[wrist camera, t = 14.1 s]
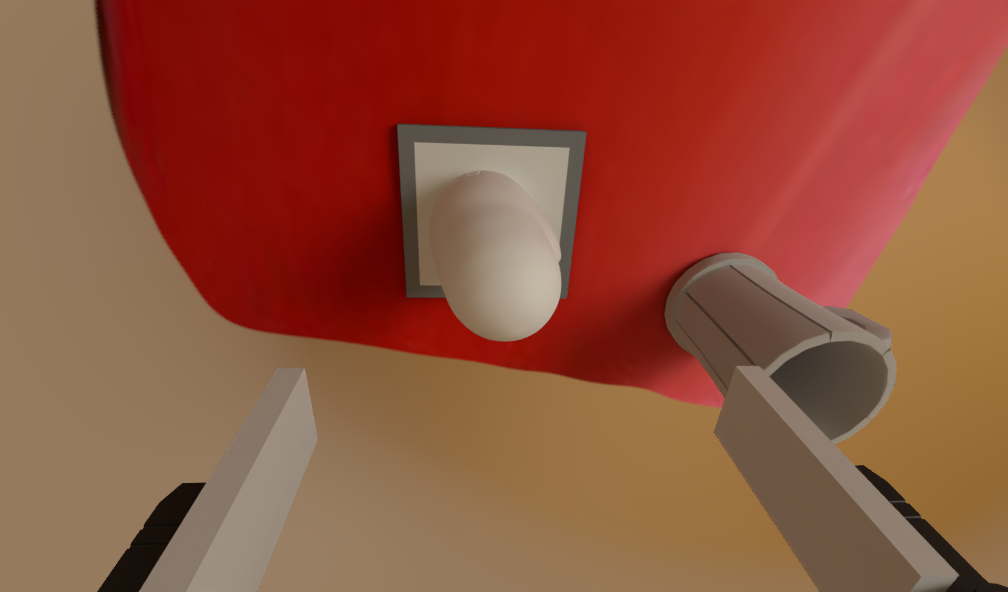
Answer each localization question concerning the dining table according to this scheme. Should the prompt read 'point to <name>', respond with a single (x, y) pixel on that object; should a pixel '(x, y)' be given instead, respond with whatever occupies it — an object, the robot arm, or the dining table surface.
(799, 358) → the cup
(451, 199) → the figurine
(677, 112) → the dining table surface
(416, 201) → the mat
